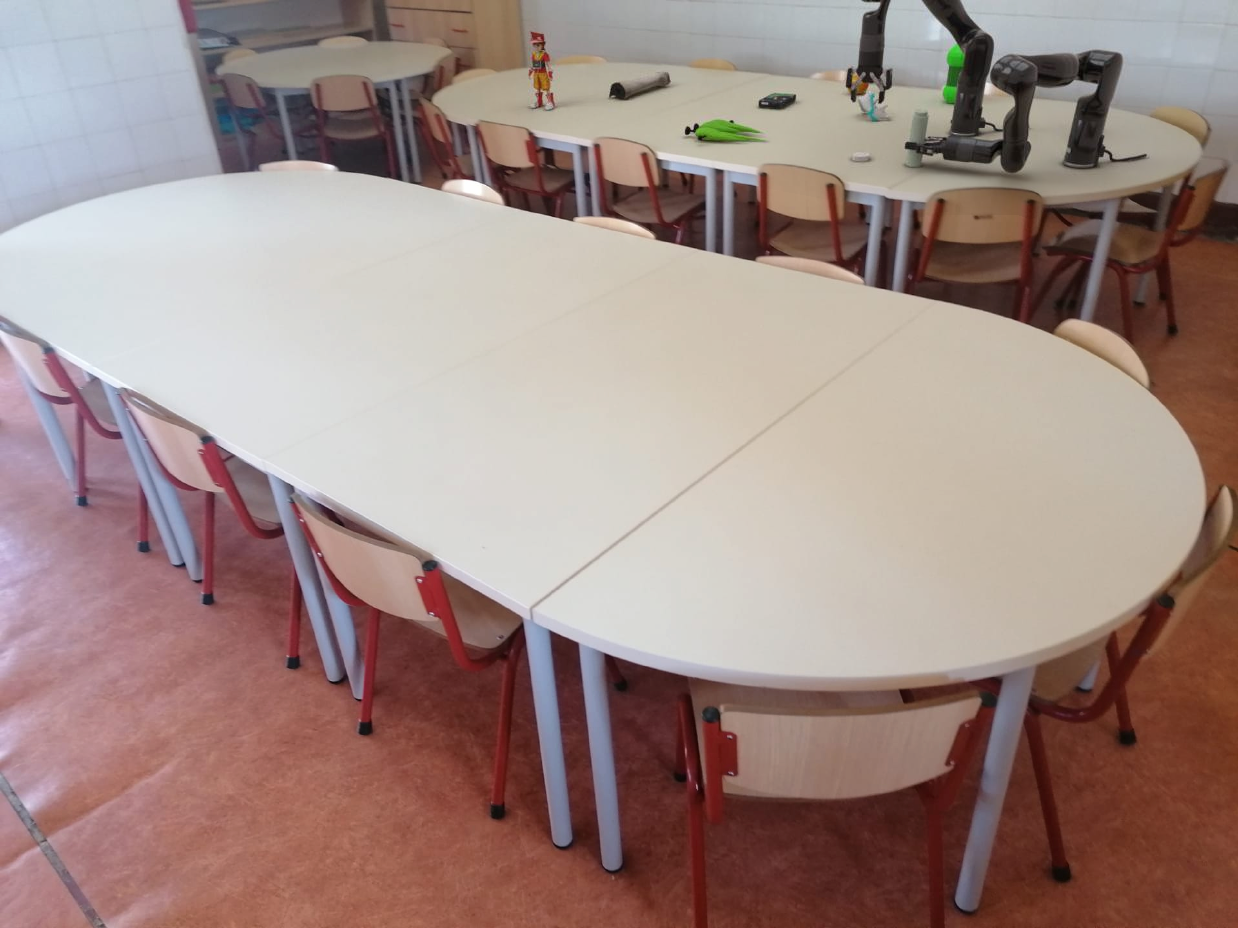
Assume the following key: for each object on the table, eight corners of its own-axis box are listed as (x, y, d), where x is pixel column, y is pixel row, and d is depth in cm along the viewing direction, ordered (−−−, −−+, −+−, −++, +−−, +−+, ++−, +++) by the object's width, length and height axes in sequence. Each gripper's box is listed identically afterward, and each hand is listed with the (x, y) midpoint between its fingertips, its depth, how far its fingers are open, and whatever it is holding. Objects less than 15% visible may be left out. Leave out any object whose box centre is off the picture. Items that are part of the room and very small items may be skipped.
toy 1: (525, 109, 381) (517, 32, 364) (534, 104, 388) (527, 28, 371) (550, 110, 377) (543, 32, 360) (559, 105, 384) (553, 28, 367)
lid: (871, 158, 301) (871, 153, 300) (865, 162, 297) (866, 157, 296) (855, 156, 303) (855, 151, 302) (849, 160, 300) (850, 155, 299)
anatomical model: (852, 90, 344) (878, 82, 343) (855, 117, 350) (880, 110, 349) (864, 99, 332) (891, 92, 331) (867, 127, 338) (893, 120, 337)
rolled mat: (651, 76, 408) (662, 61, 399) (662, 93, 408) (674, 79, 400) (605, 92, 391) (616, 77, 383) (617, 110, 391) (628, 95, 383)
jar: (903, 166, 292) (911, 112, 282) (909, 162, 295) (916, 108, 285) (918, 168, 289) (926, 113, 280) (923, 164, 293) (931, 110, 283)
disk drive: (781, 110, 359) (796, 101, 369) (782, 102, 357) (796, 94, 367) (757, 108, 364) (772, 99, 374) (758, 100, 362) (773, 92, 372)
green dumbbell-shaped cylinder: (973, 101, 354) (984, 32, 339) (955, 106, 349) (966, 36, 335) (952, 97, 361) (962, 29, 346) (934, 102, 356) (944, 33, 342)
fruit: (842, 86, 371) (854, 68, 368) (844, 90, 378) (856, 72, 375) (859, 97, 369) (871, 79, 366) (861, 100, 377) (873, 83, 374)
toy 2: (674, 139, 326) (748, 154, 314) (675, 124, 324) (750, 138, 311) (708, 126, 347) (780, 140, 334) (710, 113, 344) (782, 125, 331)
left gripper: (845, 50, 281) (841, 104, 290) (890, 51, 275) (885, 106, 284) (853, 45, 286) (849, 99, 295) (897, 46, 280) (892, 101, 289)
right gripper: (970, 131, 284) (917, 125, 292) (956, 142, 274) (901, 136, 283) (966, 155, 288) (914, 149, 297) (952, 167, 279) (898, 160, 287)
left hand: (867, 102), depth 290 cm, fingers open, 8 cm apart
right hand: (908, 143), depth 290 cm, fingers closed on jar, 5 cm apart
